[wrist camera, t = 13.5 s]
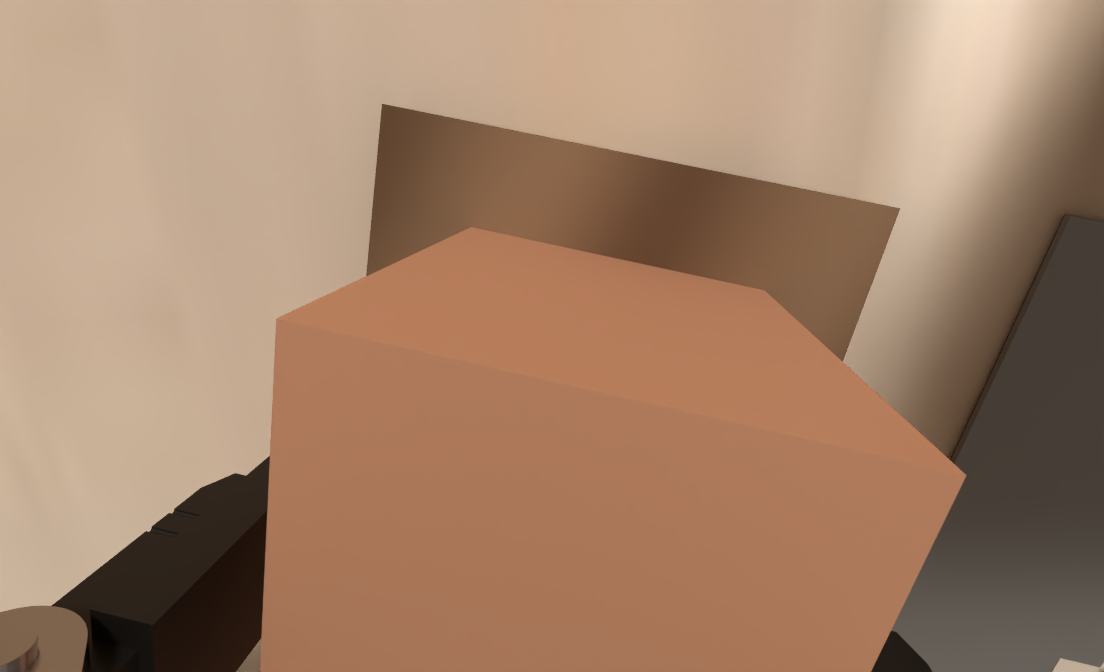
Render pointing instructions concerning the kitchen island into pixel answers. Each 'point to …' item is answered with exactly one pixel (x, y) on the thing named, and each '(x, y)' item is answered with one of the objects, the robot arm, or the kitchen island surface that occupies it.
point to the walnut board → (626, 214)
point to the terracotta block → (580, 476)
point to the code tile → (1028, 491)
